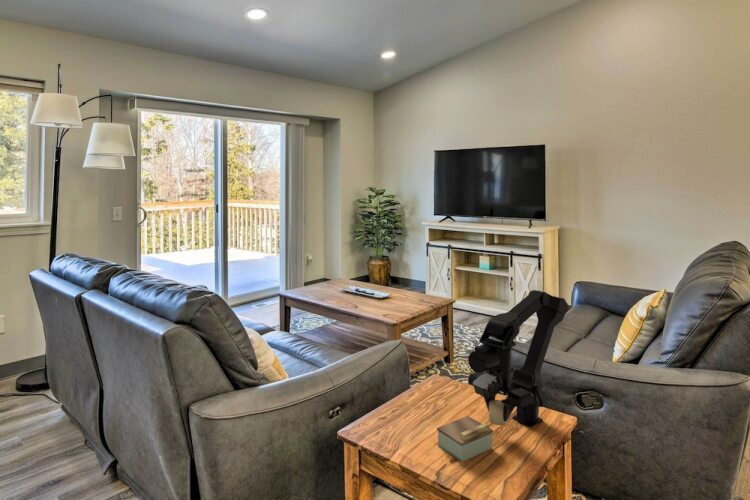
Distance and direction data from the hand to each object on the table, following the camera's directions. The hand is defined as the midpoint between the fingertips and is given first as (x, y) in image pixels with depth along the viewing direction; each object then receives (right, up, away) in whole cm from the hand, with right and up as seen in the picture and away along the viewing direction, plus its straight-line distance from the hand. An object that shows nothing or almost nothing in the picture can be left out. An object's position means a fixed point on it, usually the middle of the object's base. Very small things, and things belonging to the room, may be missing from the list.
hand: (497, 416), depth 128 cm
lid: (-10, -2, -5) cm, 12 cm away
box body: (-10, -6, -5) cm, 13 cm away
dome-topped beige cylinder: (0, -1, 0) cm, 1 cm away
